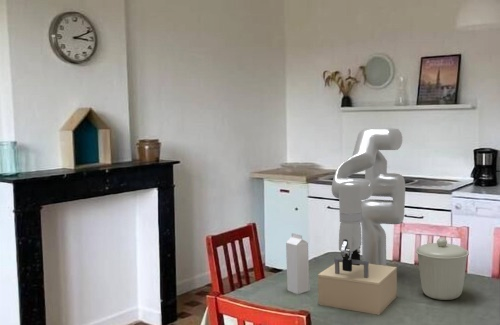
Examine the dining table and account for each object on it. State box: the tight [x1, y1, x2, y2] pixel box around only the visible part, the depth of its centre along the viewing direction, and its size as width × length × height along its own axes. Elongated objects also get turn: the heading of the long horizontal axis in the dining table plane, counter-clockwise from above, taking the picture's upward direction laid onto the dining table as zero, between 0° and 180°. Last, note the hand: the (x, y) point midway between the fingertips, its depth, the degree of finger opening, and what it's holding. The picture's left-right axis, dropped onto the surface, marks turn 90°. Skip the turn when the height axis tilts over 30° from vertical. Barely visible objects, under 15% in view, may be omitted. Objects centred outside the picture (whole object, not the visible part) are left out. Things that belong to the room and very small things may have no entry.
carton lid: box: [317, 256, 398, 285], centre depth 195 cm, size 20×22×6 cm
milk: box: [285, 232, 310, 295], centre depth 208 cm, size 6×6×22 cm
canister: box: [415, 237, 470, 301], centre depth 198 cm, size 18×18×21 cm
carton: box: [317, 269, 398, 316], centre depth 196 cm, size 20×22×10 cm
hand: (351, 267), depth 190 cm, fingers open, 7 cm apart
